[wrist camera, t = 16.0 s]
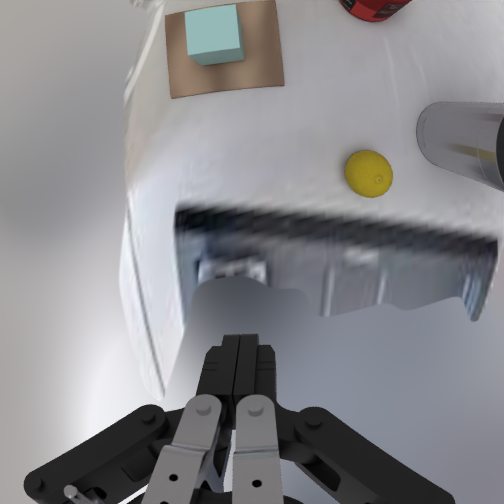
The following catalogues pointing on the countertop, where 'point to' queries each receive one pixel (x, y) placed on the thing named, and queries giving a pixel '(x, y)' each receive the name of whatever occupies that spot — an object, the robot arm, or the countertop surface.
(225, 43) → the mint foam cube
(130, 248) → the countertop surface
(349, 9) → the canned food
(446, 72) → the countertop surface
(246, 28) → the stand
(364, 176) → the lemon
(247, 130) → the countertop surface
